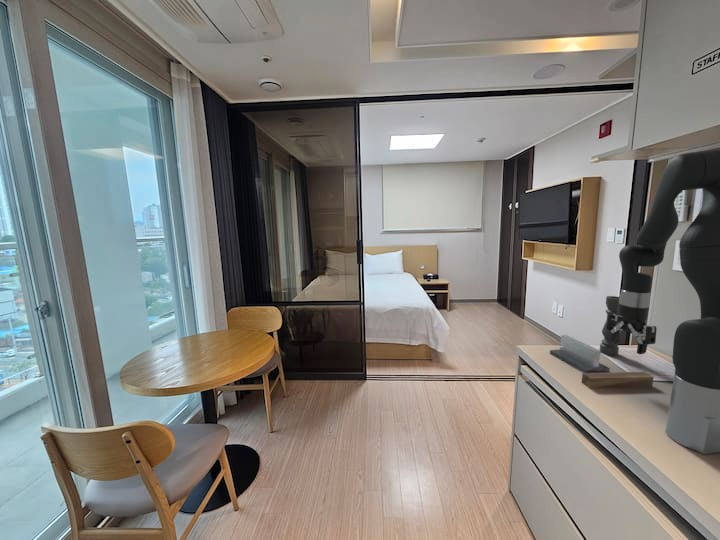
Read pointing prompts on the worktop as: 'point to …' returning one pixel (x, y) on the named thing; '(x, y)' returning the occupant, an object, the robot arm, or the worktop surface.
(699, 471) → the worktop surface
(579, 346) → the stand
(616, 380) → the walnut beam
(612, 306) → the candle holder
